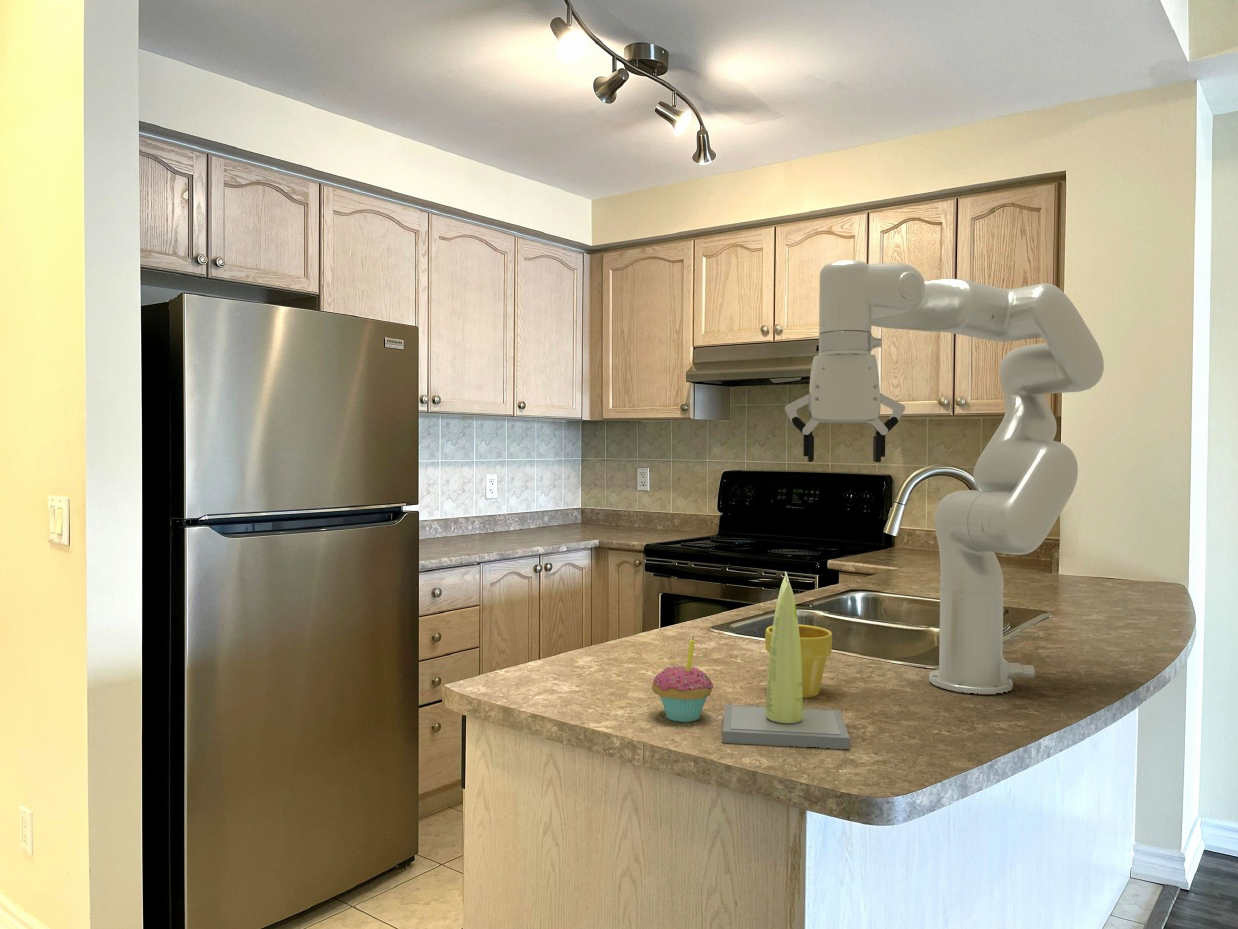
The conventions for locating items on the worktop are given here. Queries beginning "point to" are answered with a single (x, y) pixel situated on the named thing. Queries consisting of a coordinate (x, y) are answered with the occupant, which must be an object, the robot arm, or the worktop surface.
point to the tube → (785, 662)
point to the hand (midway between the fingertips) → (843, 461)
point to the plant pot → (810, 655)
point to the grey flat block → (785, 728)
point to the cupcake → (683, 690)
